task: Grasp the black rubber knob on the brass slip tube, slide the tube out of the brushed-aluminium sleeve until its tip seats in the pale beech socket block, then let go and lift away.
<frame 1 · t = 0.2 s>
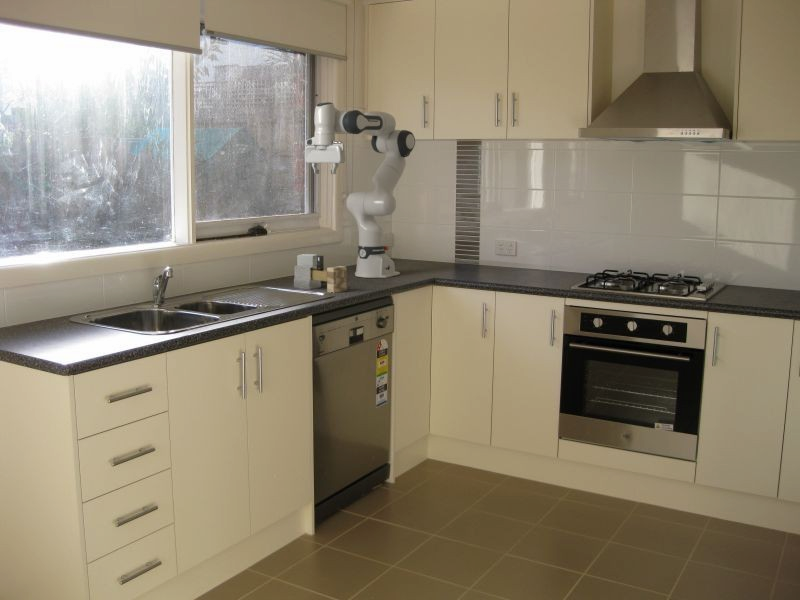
hand: (325, 174, 373), 47 cm above the worktop, fingers open, 8 cm apart
beech socket block: (336, 291, 358), on the worktop
aluminium sleeve: (307, 287, 368), on the worktop
supplement box: (307, 283, 381), on the worktop
brass slip tube: (316, 267, 364), point 9 cm above the worktop, slide at 0.0 cm
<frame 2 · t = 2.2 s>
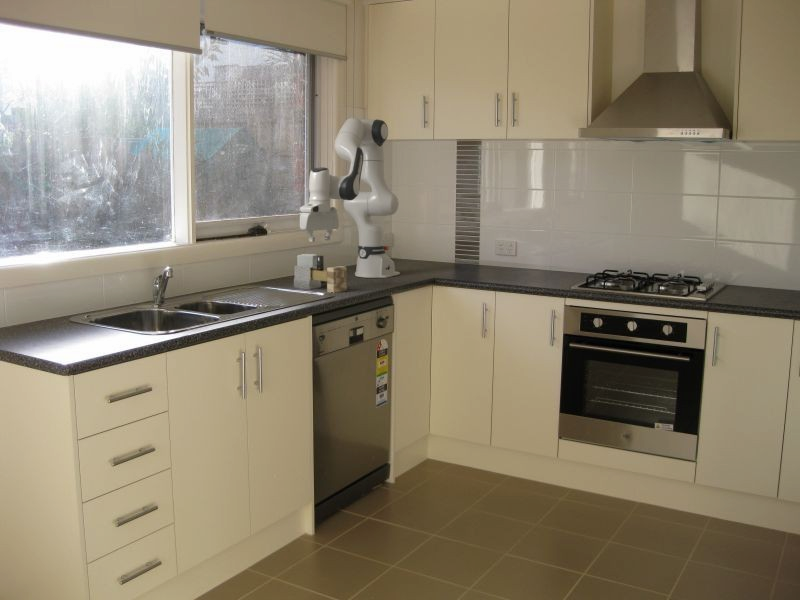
hand: (319, 241, 360), 20 cm above the worktop, fingers open, 8 cm apart
nothing on the worktop moved.
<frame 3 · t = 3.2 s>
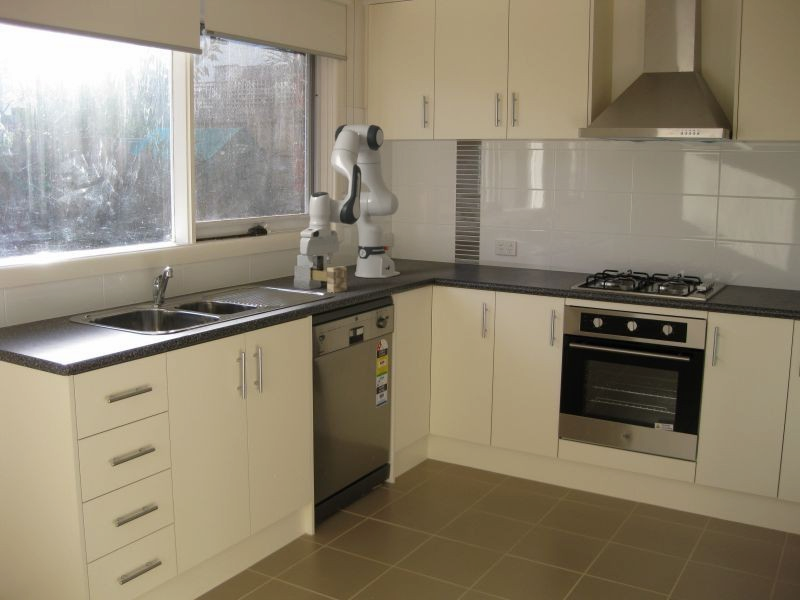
hand: (320, 264, 362), 10 cm above the worktop, fingers open, 8 cm apart
nothing on the worktop moved.
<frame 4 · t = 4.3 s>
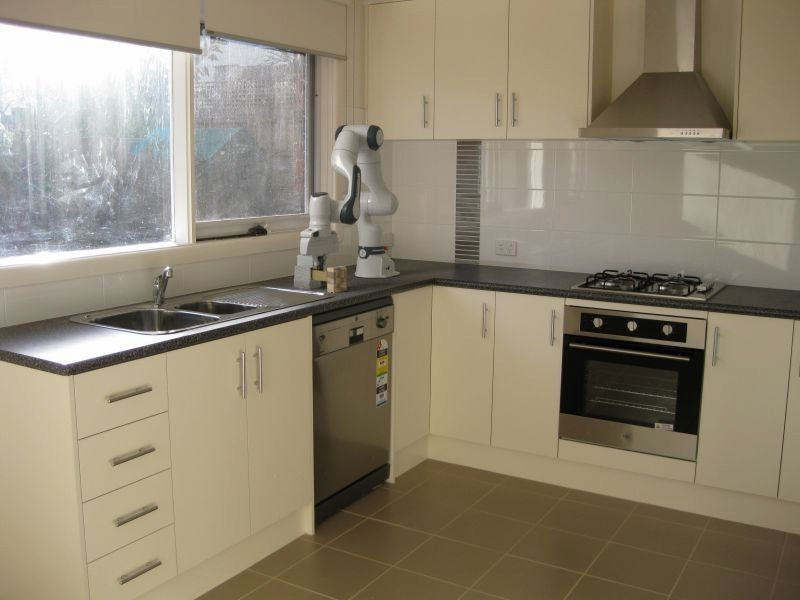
hand: (320, 265, 362), 10 cm above the worktop, fingers closed on brass slip tube, 3 cm apart
brass slip tube: (316, 267, 364), point 9 cm above the worktop, slide at 0.0 cm, touching gripper
everything else where it was.
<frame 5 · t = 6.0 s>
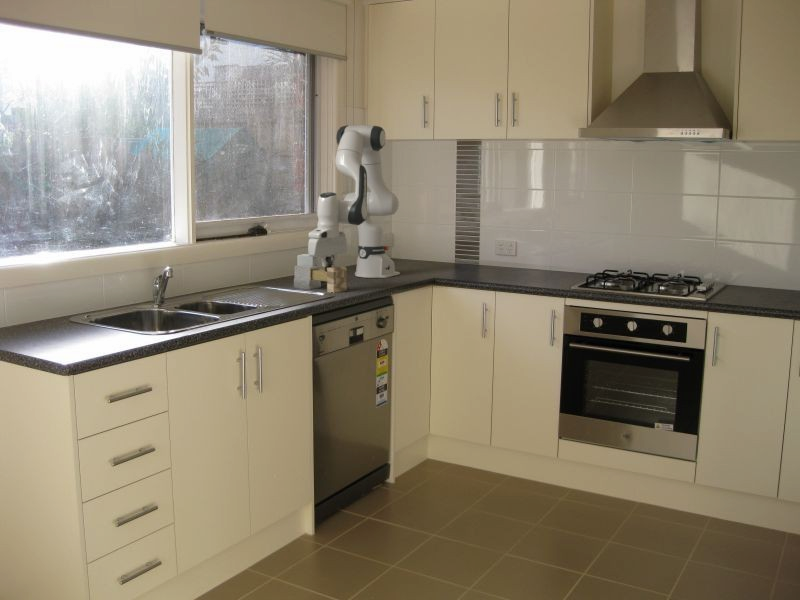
hand: (328, 266, 360), 10 cm above the worktop, fingers closed on brass slip tube, 3 cm apart
brass slip tube: (324, 268, 361), point 9 cm above the worktop, slide at 4.5 cm, touching beech socket block, gripper
everything else where it was.
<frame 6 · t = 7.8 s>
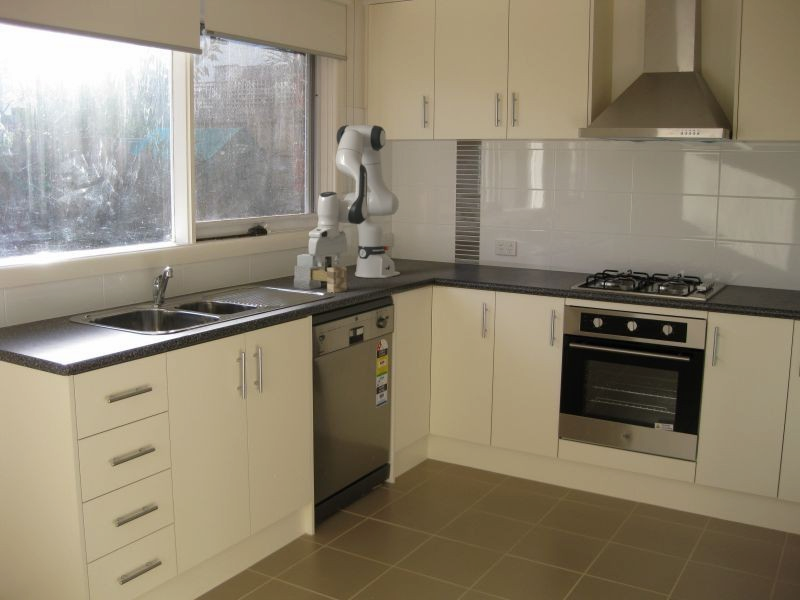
hand: (328, 265, 360), 10 cm above the worktop, fingers open, 8 cm apart
brass slip tube: (324, 268, 361), point 9 cm above the worktop, slide at 4.5 cm, touching beech socket block
everything else where it was.
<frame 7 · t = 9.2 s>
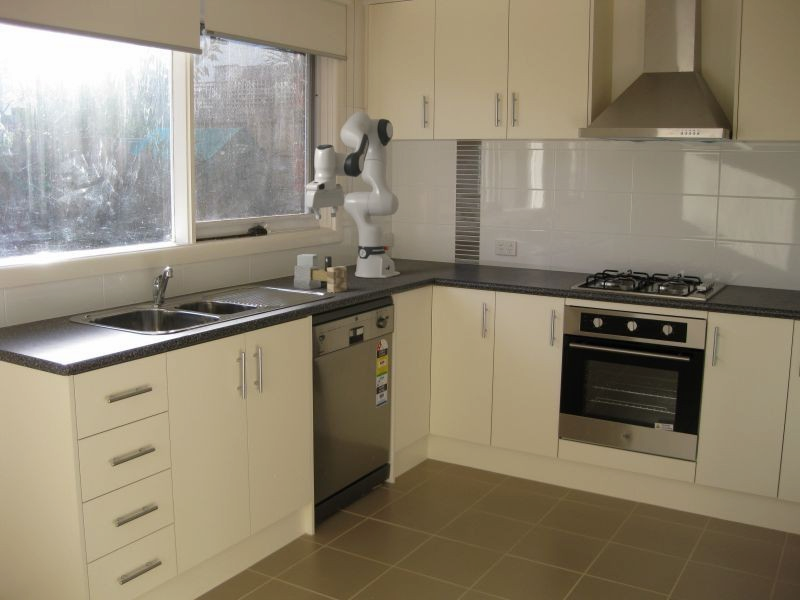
hand: (326, 218, 362), 29 cm above the worktop, fingers open, 8 cm apart
nothing on the worktop moved.
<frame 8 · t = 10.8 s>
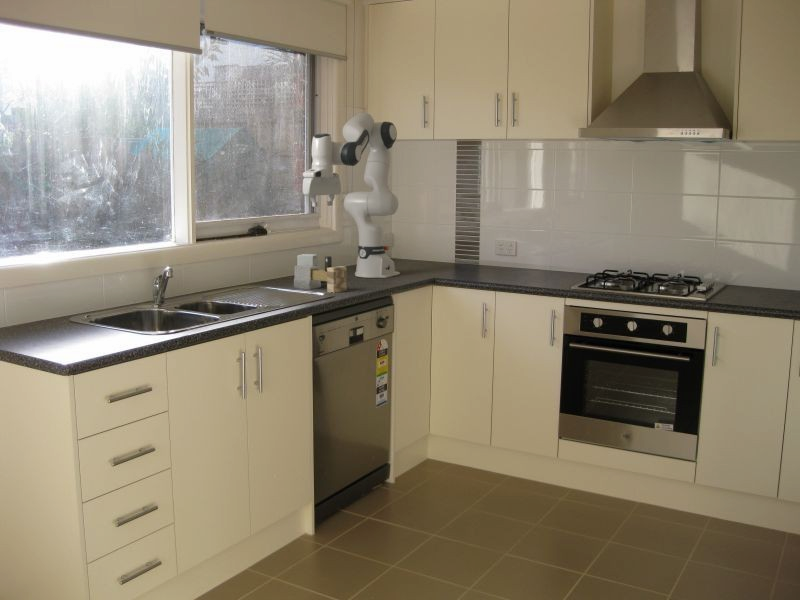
hand: (322, 206, 367), 34 cm above the worktop, fingers open, 8 cm apart
nothing on the worktop moved.
at the end: brass slip tube slide at 4.5 cm; the gripper is holding nothing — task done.
